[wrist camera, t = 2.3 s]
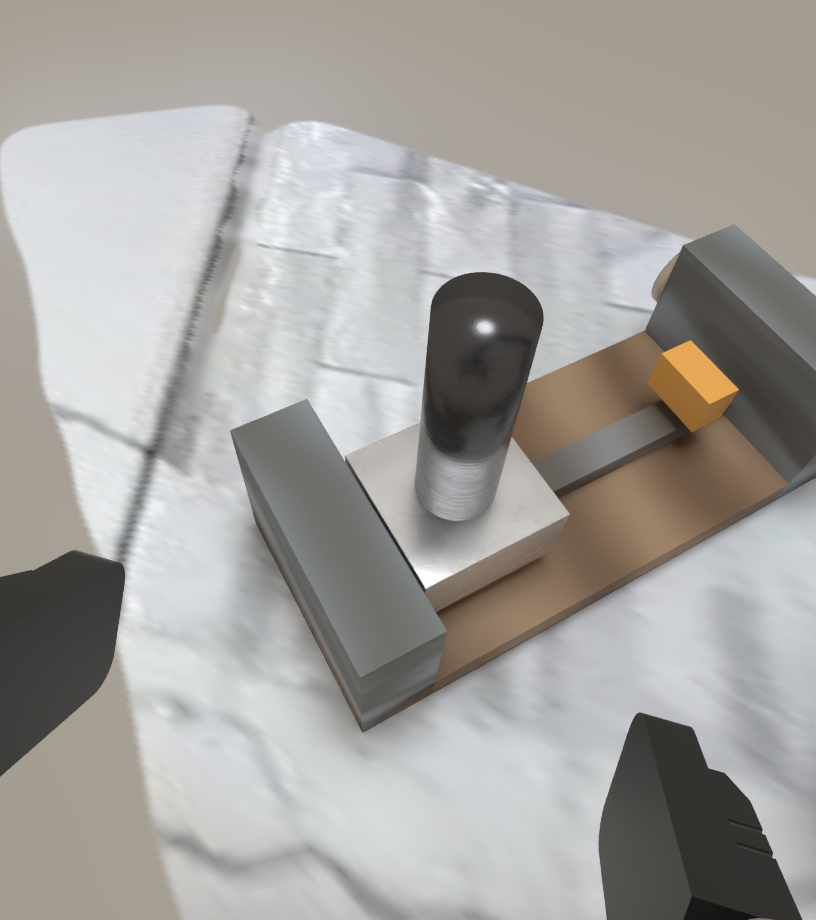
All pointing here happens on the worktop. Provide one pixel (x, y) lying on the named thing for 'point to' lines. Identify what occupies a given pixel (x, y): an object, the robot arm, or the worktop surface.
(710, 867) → the robot arm
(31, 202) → the worktop surface
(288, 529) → the rail base
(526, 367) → the carriage
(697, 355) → the orange block
